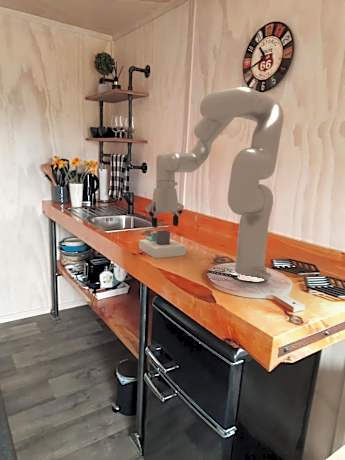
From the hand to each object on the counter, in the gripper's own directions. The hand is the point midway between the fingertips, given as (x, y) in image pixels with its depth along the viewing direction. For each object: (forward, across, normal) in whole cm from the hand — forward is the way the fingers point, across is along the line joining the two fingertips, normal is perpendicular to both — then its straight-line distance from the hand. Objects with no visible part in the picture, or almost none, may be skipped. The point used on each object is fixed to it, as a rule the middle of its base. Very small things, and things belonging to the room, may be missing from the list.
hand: (165, 226), depth 134 cm
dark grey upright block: (+10, 0, -1) cm, 10 cm away
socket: (+11, 0, -1) cm, 11 cm away
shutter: (+7, 0, -9) cm, 11 cm away
